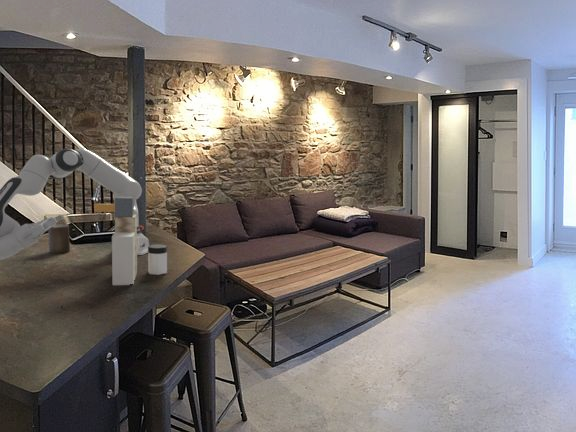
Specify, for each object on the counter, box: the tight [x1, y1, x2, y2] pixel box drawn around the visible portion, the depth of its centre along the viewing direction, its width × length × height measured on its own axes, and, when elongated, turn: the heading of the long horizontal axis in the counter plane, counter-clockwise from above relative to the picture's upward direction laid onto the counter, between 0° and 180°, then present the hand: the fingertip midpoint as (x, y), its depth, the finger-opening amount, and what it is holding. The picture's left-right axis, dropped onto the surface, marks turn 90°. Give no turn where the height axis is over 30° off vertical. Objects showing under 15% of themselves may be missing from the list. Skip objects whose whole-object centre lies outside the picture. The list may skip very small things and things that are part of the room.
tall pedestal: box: [114, 214, 138, 278], centre depth 207 cm, size 8×9×26 cm
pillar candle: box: [47, 222, 71, 255], centre depth 245 cm, size 10×10×15 cm
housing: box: [93, 196, 134, 218], centre depth 204 cm, size 16×7×8 cm, turn 103°
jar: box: [147, 244, 168, 276], centre depth 214 cm, size 9×8×12 cm
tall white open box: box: [111, 232, 136, 286], centre depth 197 cm, size 8×9×20 cm
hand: (59, 218), depth 200 cm, fingers open, 8 cm apart
